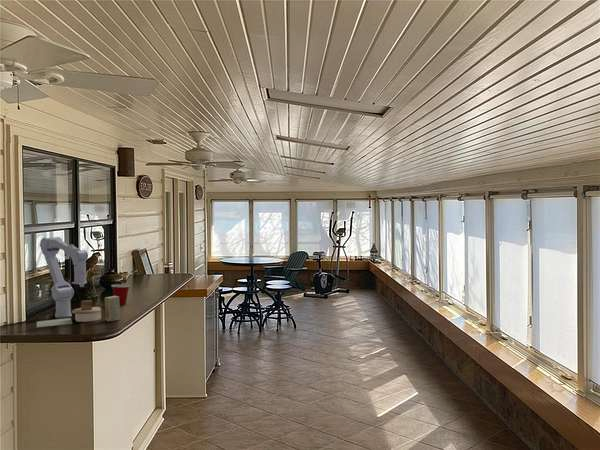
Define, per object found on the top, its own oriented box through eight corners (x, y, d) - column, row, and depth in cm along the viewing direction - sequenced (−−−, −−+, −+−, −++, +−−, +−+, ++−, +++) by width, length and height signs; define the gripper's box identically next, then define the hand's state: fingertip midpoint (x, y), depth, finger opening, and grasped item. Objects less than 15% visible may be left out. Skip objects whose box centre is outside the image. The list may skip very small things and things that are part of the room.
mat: (36, 322, 269) (36, 321, 269) (70, 318, 277) (70, 318, 277) (36, 328, 255) (36, 327, 255) (72, 324, 262) (72, 323, 262)
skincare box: (115, 318, 275) (115, 295, 274) (120, 319, 272) (119, 296, 272) (104, 320, 270) (104, 297, 269) (109, 321, 267) (108, 297, 267)
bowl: (75, 319, 276) (74, 310, 276) (99, 316, 281) (99, 308, 281) (76, 323, 265) (76, 314, 265) (101, 320, 270) (101, 311, 270)
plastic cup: (131, 305, 316) (130, 285, 315) (112, 306, 312) (111, 286, 311) (129, 302, 326) (129, 283, 325) (111, 303, 322) (110, 284, 321)
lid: (71, 310, 276) (70, 300, 275) (99, 307, 282) (99, 297, 282) (73, 315, 263) (73, 304, 263) (103, 312, 270) (102, 301, 270)
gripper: (70, 272, 280) (71, 298, 280) (73, 275, 267) (74, 301, 268) (84, 271, 283) (85, 296, 284) (88, 274, 271) (88, 300, 271)
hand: (80, 299), depth 276 cm, fingers open, 7 cm apart
